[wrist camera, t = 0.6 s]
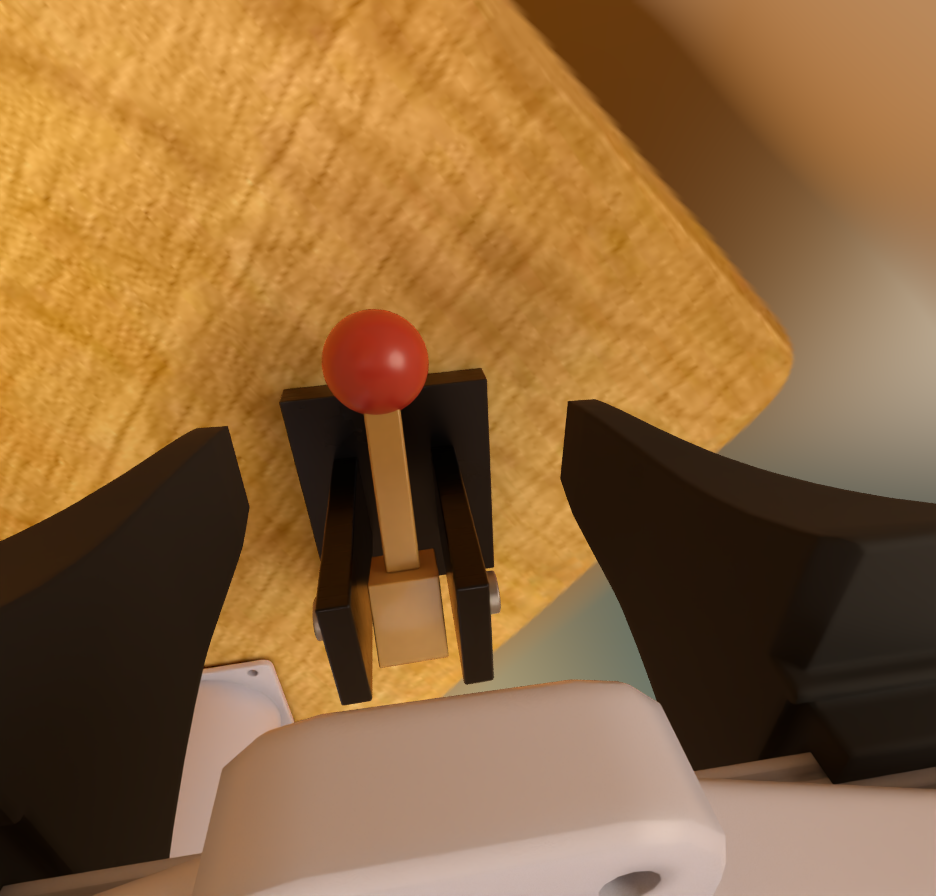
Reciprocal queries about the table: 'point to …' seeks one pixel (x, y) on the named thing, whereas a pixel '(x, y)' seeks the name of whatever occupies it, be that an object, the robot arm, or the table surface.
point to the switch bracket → (434, 505)
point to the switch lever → (390, 477)
